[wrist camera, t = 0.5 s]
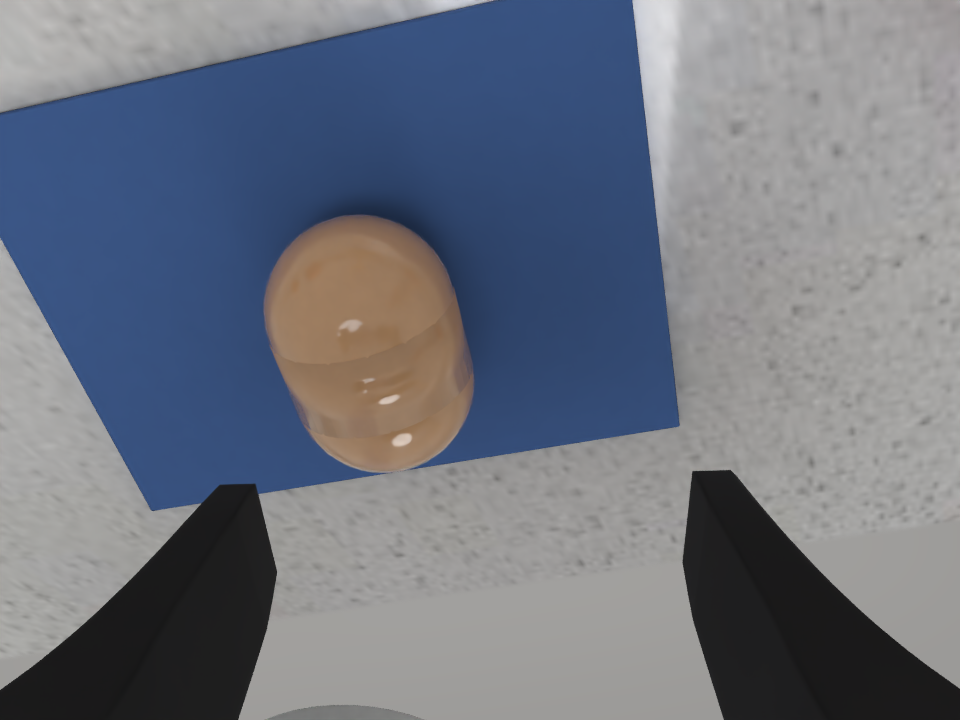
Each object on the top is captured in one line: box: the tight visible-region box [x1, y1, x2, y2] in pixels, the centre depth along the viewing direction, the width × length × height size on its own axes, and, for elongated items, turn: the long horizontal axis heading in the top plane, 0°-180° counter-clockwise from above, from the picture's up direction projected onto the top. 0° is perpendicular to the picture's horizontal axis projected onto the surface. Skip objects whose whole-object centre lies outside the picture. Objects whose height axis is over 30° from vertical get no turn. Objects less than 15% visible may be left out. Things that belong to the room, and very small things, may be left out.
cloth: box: [0, 0, 680, 511], centre depth 22 cm, size 16×12×1 cm
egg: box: [263, 214, 475, 473], centre depth 20 cm, size 6×4×4 cm
